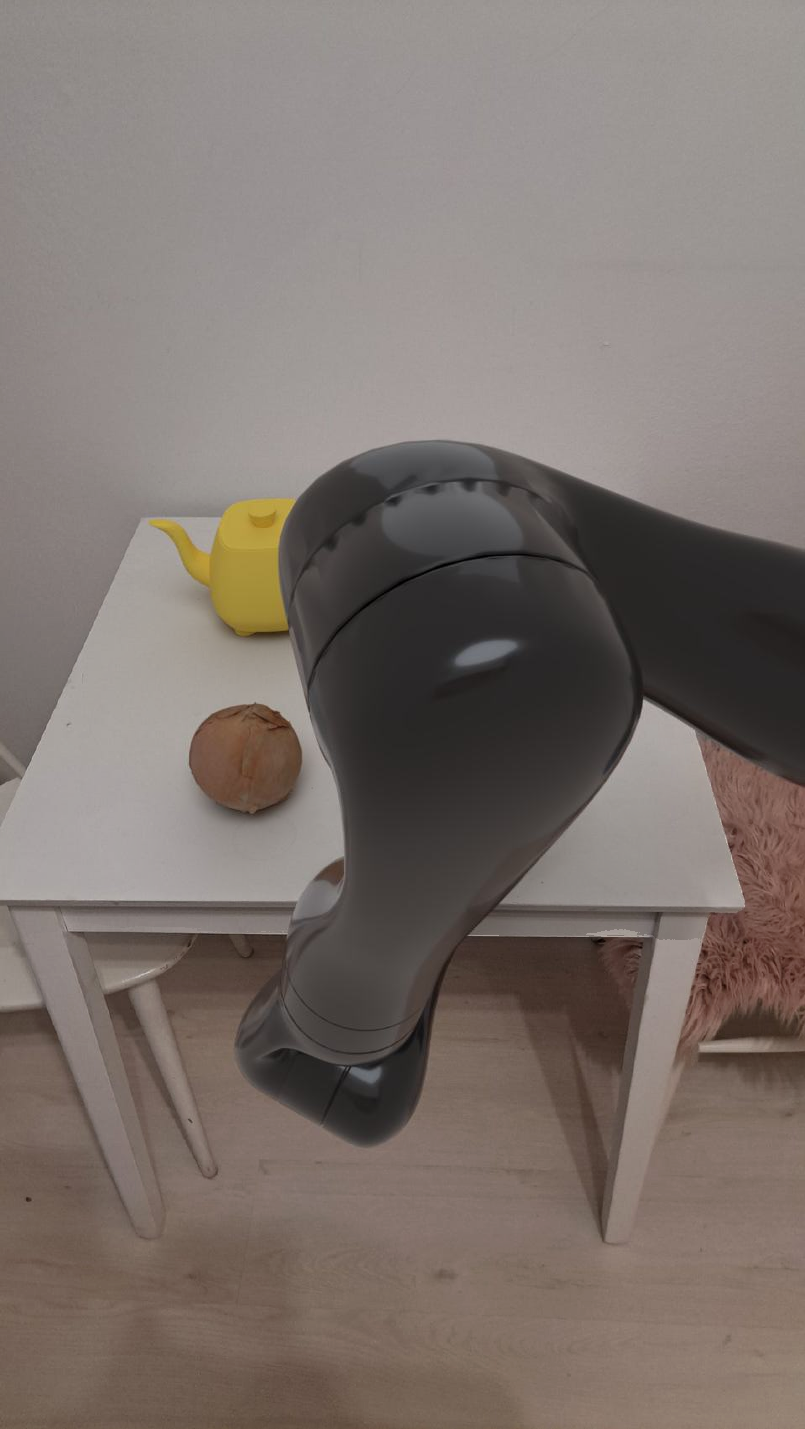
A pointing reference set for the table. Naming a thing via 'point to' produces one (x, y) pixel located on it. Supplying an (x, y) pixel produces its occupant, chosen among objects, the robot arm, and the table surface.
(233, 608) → the teapot
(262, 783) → the onion
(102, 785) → the table surface
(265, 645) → the table surface
